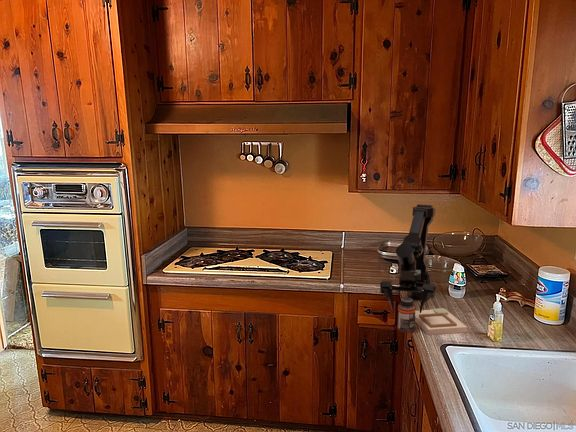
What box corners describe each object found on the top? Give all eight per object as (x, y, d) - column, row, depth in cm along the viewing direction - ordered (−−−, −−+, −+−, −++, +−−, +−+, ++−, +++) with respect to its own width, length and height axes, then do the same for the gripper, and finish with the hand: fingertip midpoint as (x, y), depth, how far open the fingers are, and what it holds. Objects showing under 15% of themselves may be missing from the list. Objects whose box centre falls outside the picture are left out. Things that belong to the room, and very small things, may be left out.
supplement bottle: (401, 324, 155) (402, 294, 153) (417, 329, 151) (418, 298, 149) (394, 330, 151) (395, 299, 149) (410, 335, 147) (411, 304, 145)
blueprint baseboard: (409, 315, 163) (409, 308, 162) (444, 313, 164) (445, 306, 164) (428, 335, 147) (428, 326, 146) (466, 332, 149) (467, 324, 148)
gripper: (381, 258, 153) (378, 299, 145) (436, 262, 149) (437, 304, 140) (381, 273, 162) (379, 312, 154) (433, 277, 158) (434, 317, 149)
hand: (406, 311), depth 149 cm, fingers open, 9 cm apart
